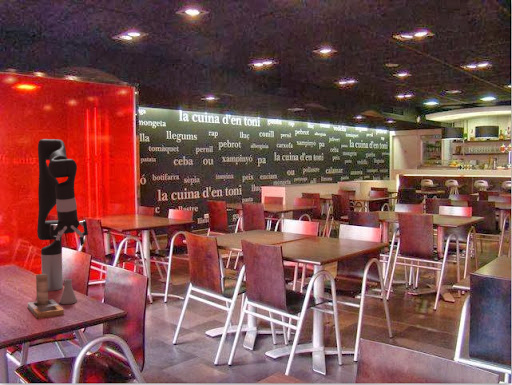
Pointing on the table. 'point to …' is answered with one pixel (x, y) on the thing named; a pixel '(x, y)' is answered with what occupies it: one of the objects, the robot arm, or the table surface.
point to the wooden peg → (42, 289)
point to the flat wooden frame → (45, 309)
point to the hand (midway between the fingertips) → (70, 246)
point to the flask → (68, 293)
